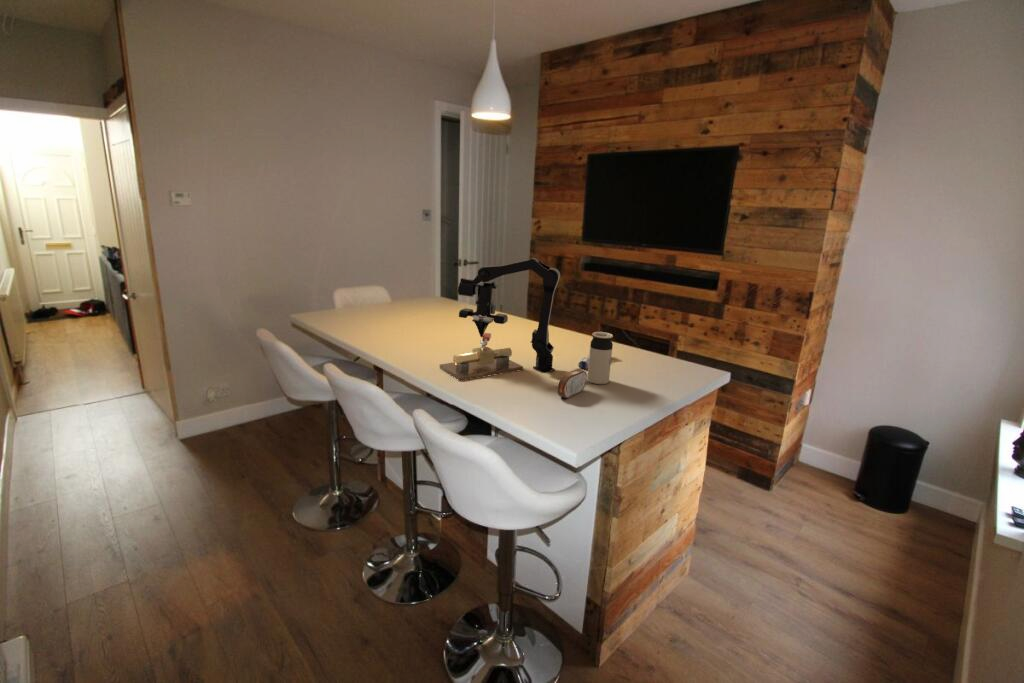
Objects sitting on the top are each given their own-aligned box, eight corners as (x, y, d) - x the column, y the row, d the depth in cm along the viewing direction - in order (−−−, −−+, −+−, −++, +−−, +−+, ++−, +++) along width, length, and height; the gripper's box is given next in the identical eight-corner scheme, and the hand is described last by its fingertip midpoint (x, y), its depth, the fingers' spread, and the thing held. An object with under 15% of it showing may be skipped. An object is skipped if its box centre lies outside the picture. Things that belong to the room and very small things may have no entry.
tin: (579, 388, 171) (581, 365, 169) (587, 390, 170) (589, 367, 167) (555, 399, 160) (557, 375, 158) (563, 401, 158) (565, 377, 156)
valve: (522, 370, 188) (524, 345, 185) (459, 381, 172) (459, 354, 170) (500, 358, 200) (501, 335, 198) (439, 368, 185) (439, 343, 182)
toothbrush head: (576, 359, 192) (603, 339, 211) (576, 374, 195) (602, 353, 214) (588, 362, 190) (614, 341, 209) (588, 377, 192) (613, 356, 211)
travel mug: (584, 382, 178) (588, 334, 173) (591, 376, 185) (595, 330, 180) (604, 386, 174) (610, 338, 170) (611, 380, 181) (616, 334, 176)
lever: (486, 346, 181) (487, 342, 181) (479, 345, 182) (479, 341, 181) (491, 337, 195) (491, 333, 194) (484, 336, 195) (484, 332, 194)
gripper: (513, 298, 193) (509, 336, 197) (470, 292, 198) (467, 329, 202) (504, 303, 182) (501, 342, 186) (459, 296, 187) (457, 334, 191)
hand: (481, 337), depth 192 cm, fingers closed
